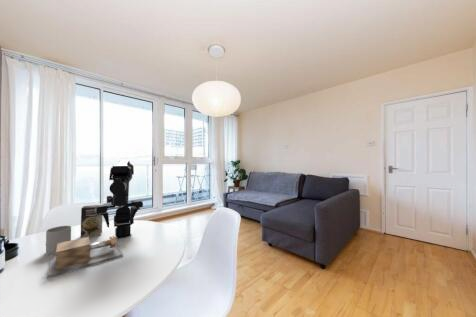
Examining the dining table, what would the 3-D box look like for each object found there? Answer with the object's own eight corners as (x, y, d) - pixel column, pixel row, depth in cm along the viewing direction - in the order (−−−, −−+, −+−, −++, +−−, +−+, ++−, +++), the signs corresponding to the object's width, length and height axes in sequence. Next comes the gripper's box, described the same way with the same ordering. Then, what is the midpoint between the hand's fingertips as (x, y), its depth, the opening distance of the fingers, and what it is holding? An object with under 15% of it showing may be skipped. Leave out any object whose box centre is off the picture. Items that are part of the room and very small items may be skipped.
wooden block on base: (116, 244, 94) (116, 229, 94) (122, 256, 82) (122, 239, 82) (50, 260, 78) (51, 242, 79) (47, 278, 66) (47, 256, 67)
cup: (55, 255, 82) (55, 232, 82) (40, 254, 84) (41, 231, 84) (75, 247, 91) (75, 226, 91) (61, 245, 92) (62, 225, 92)
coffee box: (80, 238, 101) (80, 208, 101) (82, 234, 106) (83, 205, 106) (101, 235, 105) (101, 206, 105) (102, 231, 111) (103, 204, 111)
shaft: (113, 245, 88) (113, 234, 88) (115, 248, 85) (115, 237, 85) (75, 254, 79) (75, 242, 79) (75, 258, 76) (75, 246, 76)
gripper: (136, 187, 102) (136, 217, 102) (93, 191, 89) (92, 224, 89) (143, 190, 94) (143, 221, 93) (96, 194, 81) (96, 231, 81)
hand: (119, 224), depth 89 cm, fingers open, 9 cm apart
